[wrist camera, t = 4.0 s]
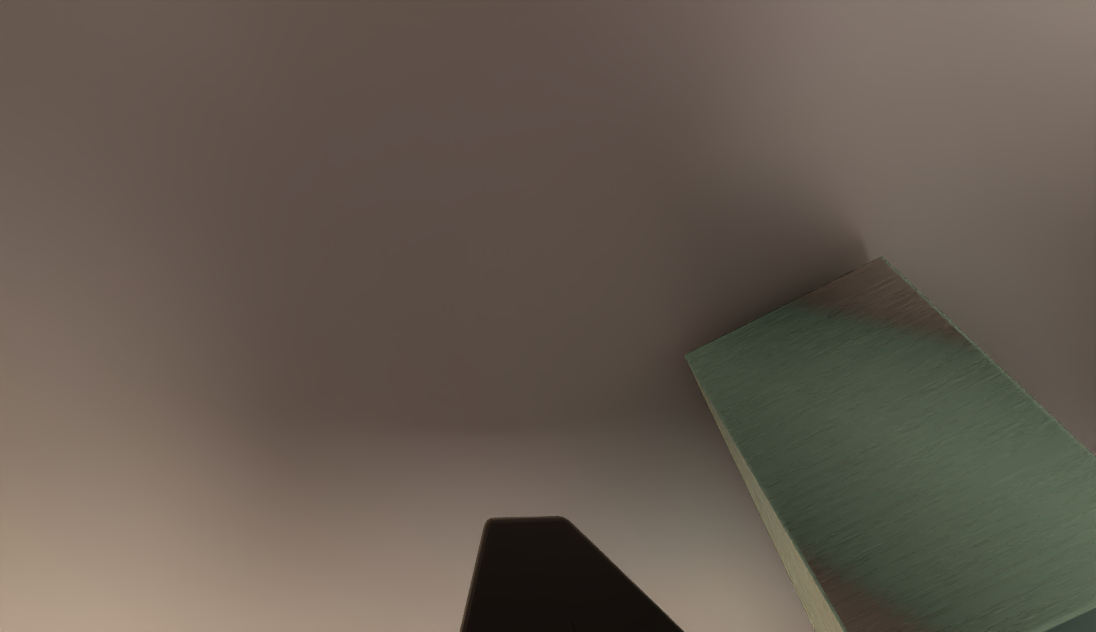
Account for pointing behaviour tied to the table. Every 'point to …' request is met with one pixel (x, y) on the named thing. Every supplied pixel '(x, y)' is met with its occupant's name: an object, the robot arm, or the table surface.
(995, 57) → the table surface
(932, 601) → the bar
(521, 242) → the table surface
